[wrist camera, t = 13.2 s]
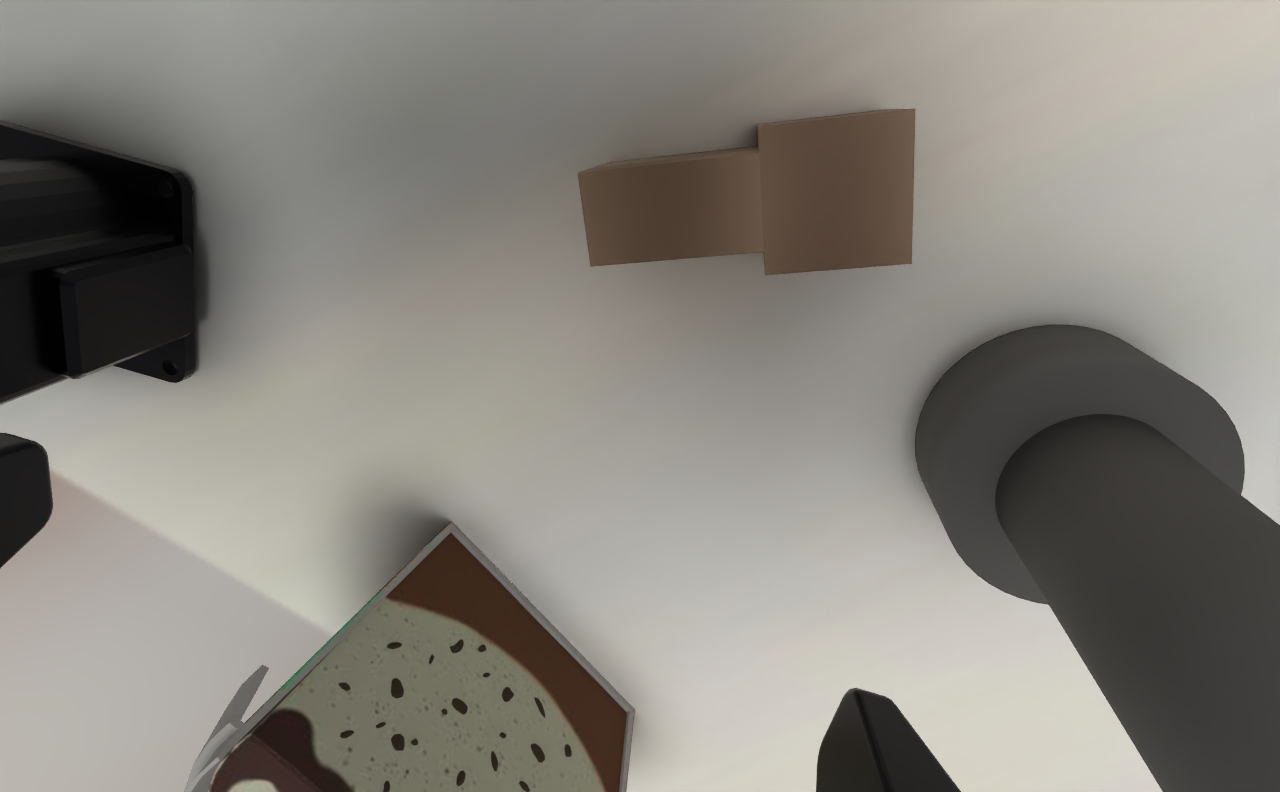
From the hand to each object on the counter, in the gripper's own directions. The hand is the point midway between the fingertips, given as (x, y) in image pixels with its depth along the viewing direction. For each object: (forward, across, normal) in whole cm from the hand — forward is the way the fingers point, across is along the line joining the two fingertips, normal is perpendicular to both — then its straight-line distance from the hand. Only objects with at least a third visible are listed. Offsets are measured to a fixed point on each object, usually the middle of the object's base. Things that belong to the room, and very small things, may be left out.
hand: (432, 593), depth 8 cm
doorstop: (+13, -12, +1) cm, 18 cm away
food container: (+13, +2, +14) cm, 19 cm away
